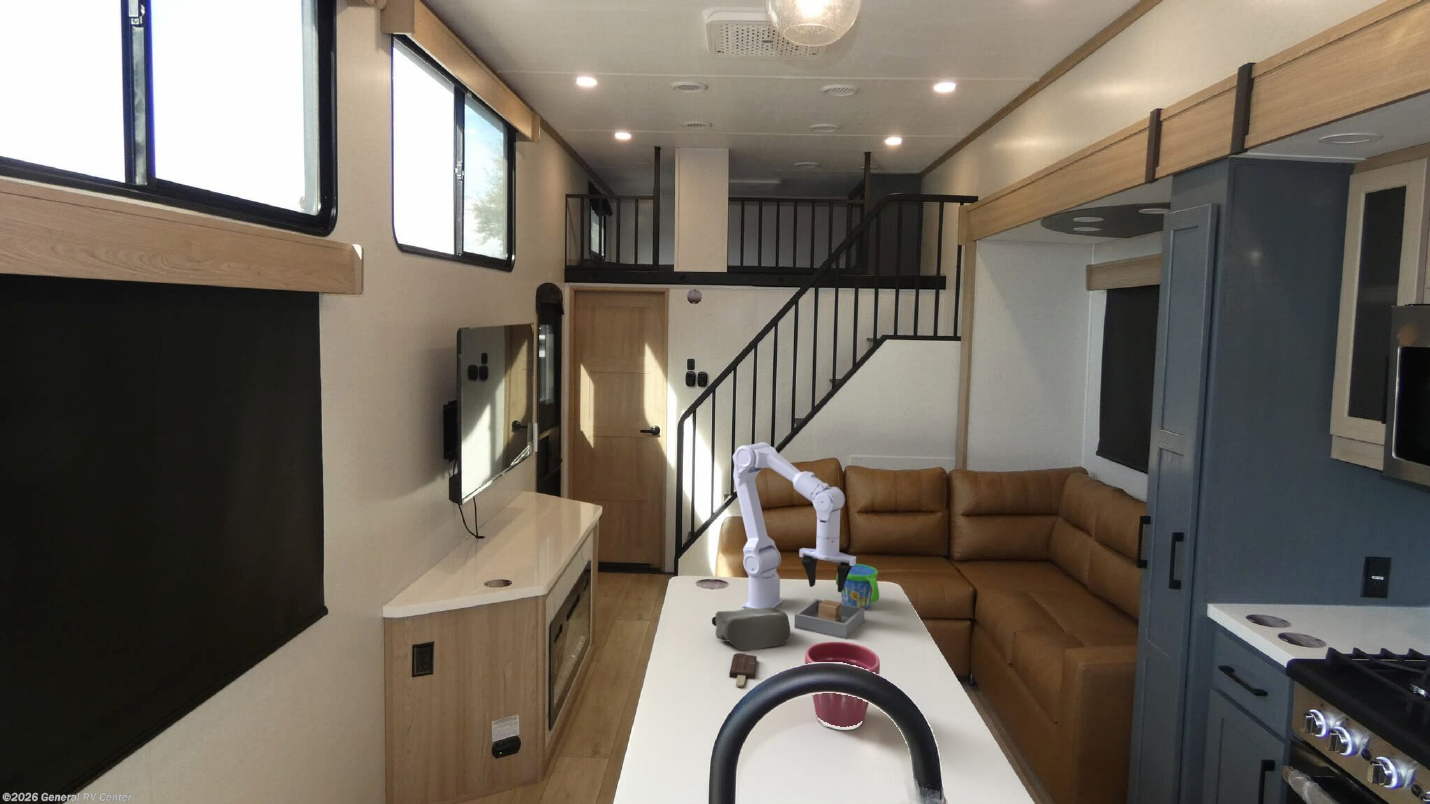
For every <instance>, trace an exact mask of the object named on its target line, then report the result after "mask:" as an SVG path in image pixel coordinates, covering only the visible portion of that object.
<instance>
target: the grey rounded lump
mask: <svg viewBox="0 0 1430 804" xmlns="http://www.w3.org/2000/svg"><path fill="white" fill-rule="evenodd" d="M711 623H712V625H713V626H714V627H715V637H716V638H717V639H718V640H721V641H728V642H729V643H730V644H731V645H732V646H733V647H734V648H735V649H738V650H739V651H742V652H743V651H745V652H746V651H756V650H761V649H766V648H770V647H772V648H773V647H778V646H781V645H782V644H784V643H785V642H787V640H788V639H789V637H790V634H791V625H790V624H791V623H790V621H789V616H788V615H787V613H786V612H784V611H782V610H781V609H780V608H776V607H775V608H772V607H763V608H746V607H744V608H742V609H739V610H723V611H717V612H716V613H715V616H714V617H712V618H711Z"/></svg>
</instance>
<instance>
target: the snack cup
mask: <svg viewBox="0 0 1430 804" xmlns="http://www.w3.org/2000/svg"><path fill="white" fill-rule="evenodd" d="M878 574H879V572H878V569H877V568H875V567H873V566H870V565H866V564H861V563H856V564H855V565H854V566H852V568H851V570H850V572H849V574H848V576H847V578H846V581H845V585H844V589H843V591H842V592H840V594H841V601H842V602H841V603H842V604H845V605H850V606H856V607H861V608H865V610H866V609H868V608H869V607H871V604H872V603H876V602H878V601H879V599H880V592H879V591H880V590H879V584H878V582H877V581H878V580H877V578H878ZM835 584H836V586H838V572H837V574H836V578H835Z"/></svg>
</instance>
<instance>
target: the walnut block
mask: <svg viewBox="0 0 1430 804" xmlns="http://www.w3.org/2000/svg"><path fill="white" fill-rule="evenodd" d="M842 604H843V603H842V602H841V601H835V600H830V599H824V601H823V602H821V603H820V604H819V608H818V618H821V619H825V620H830V621H835V622H841V609H842Z"/></svg>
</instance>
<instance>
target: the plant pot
mask: <svg viewBox="0 0 1430 804" xmlns="http://www.w3.org/2000/svg"><path fill="white" fill-rule="evenodd" d="M804 658H805V659H804V665H805V664H808V663H812V662H843V663H847V664H850V665H856V666H858V667H862V668H864V669H868V670H869V671H871V672H875V673H876V674H879V675H880V670H881V669H880V668H881V667H880V666H881V665H880V664H881V660H880V658H879V656H878V655H877V653H875V652H874V651H873V650H872V649H869V648H867V647H865V646H863V645H860V644H856V643H852V642H845V641H825V642H818V643H815V644H813V645H811V646H809V647H808V648H807V650H806V651H805V657H804ZM811 695H812V694H811ZM812 700H813V706H814V710H815V711H814V712H815V716H816V715H817V717H818V718H820V719H821V720H823V721H824V722H827V723H829V724H831V725H835V726H840V727H847V726H848V727H849V726H853V725H857V724H858V723H860V722H861V721H863V720H864V721H865V718H866V715H867V711H868V707H869V705H870V704H869V703H870V702H869V703H868V702H865V701H863V700H862V699H858V698H857V697H852V696H848V695H841V694H836V693H822V694H815V695H812Z"/></svg>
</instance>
